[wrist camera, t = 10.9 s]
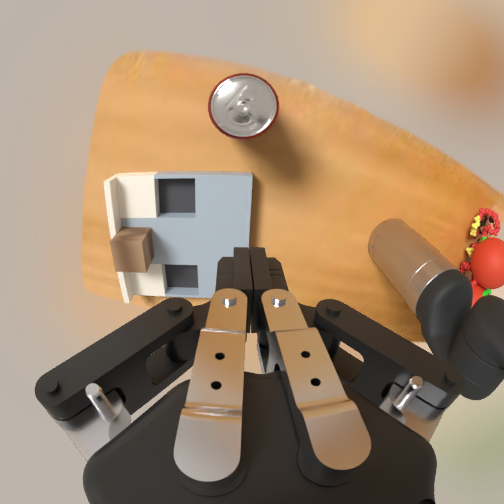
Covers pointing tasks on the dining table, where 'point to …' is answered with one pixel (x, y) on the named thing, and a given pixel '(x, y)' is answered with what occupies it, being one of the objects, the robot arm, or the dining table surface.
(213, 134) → the dining table surface
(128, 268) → the walnut block
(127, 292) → the end stop
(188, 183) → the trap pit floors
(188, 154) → the dining table surface
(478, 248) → the red round cluster
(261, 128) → the soda can
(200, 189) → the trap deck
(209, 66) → the dining table surface
